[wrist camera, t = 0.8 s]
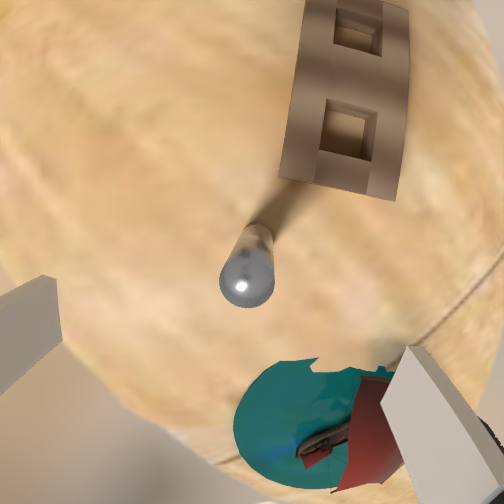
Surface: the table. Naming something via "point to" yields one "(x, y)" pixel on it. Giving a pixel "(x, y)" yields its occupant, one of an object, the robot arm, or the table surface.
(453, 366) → the table surface
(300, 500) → the table surface
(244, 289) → the peg
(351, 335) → the table surface
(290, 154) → the socket block
